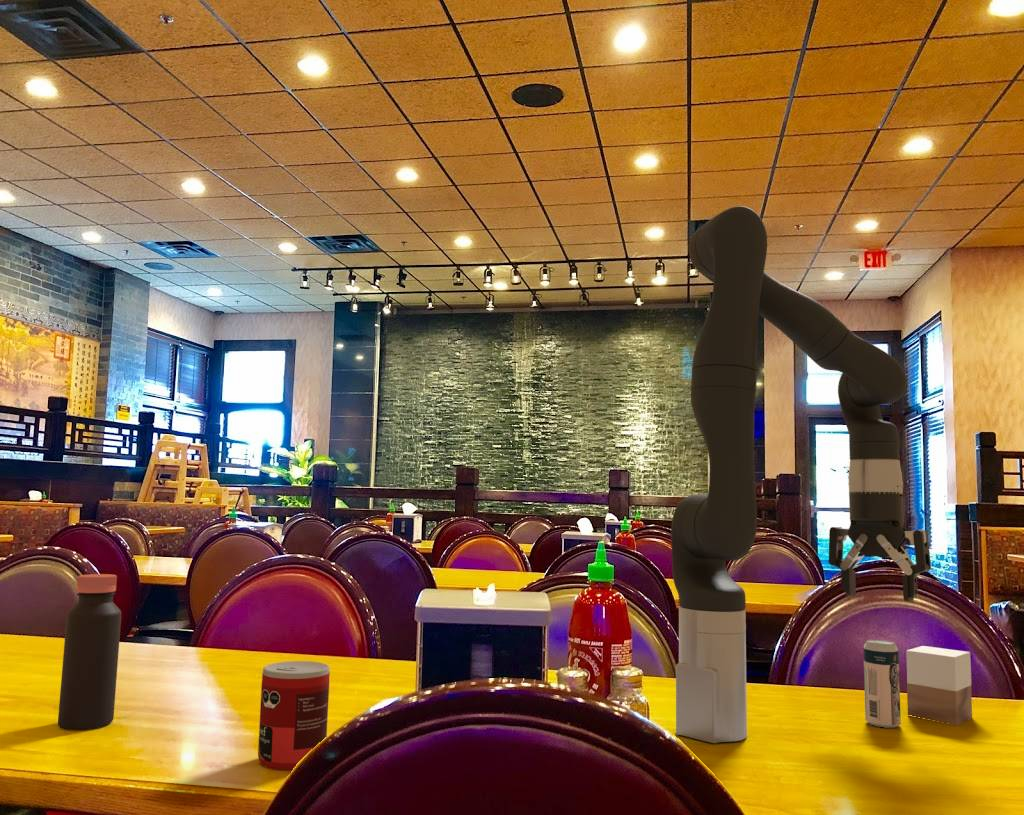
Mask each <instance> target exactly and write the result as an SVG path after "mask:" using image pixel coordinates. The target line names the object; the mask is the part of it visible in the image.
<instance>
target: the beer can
mask: <svg viewBox="0 0 1024 815" xmlns="http://www.w3.org/2000/svg"><path fill="white" fill-rule="evenodd" d="M899 652H900V651H899V648H898V647H897V644H896V643H895V642H894V641H891V640H884V639H868V640H866V641H865V643H864V645H863V674H864V675H863V680H864V681H863V682H864V718H865V721H866V722H867V723H868V724H870V725H871V726H873V725H874V726H873V727H876V726H877V728H880V727H884V728H883V729H895V728H897V727H898V726H900V725H901V724H902V723H901V722H902V720H901V719H902V718H901V717H902V716H901V694H900V692H901V690H900V688H901V687H900V684H901V683H900V658H899V656H900V655H899Z"/></svg>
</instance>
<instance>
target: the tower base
mask: <svg viewBox="0 0 1024 815" xmlns="http://www.w3.org/2000/svg"><path fill="white" fill-rule="evenodd" d="M906 696H907V698H906V699H907V702H906V703H907V716H908V715H912V716H916V717H920V718H925V719H930V720H935V721H939V722H938V723H940V722H944V723H943V724H945V723H949V724H948V725H950V724H953V725H952V726H955V725H958V726H959V725H961V724H963V723H965V722H967V721H969V720H971V719H973V707H972V706H973V705H972V703H973V701H972V700H973V699H972V684H971V685H970V686H968V687H966V688H963V689H961V690H959V691H950V690H944V689H938V688H932V687H926V686H920V685H914V684H908V683H907V682H906ZM970 718H971V719H970ZM968 719H969V720H968ZM930 720H929V721H930ZM966 720H967V721H966ZM935 721H934V722H935ZM964 721H965V722H964ZM962 722H963V723H962Z"/></svg>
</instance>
